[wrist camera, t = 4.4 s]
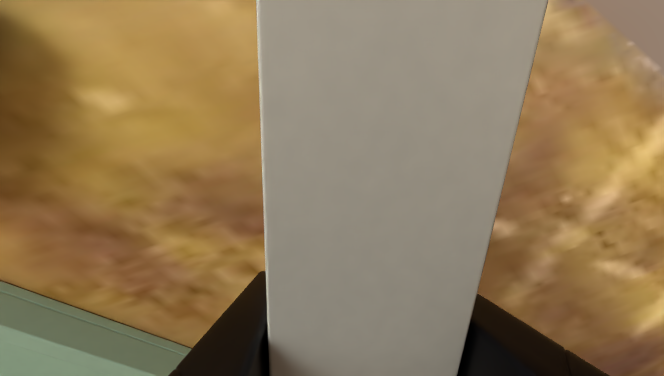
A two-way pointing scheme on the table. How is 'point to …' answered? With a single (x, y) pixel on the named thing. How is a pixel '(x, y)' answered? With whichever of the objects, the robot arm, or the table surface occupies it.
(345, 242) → the beige and teal block
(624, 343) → the table surface
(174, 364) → the pen tray
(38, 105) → the table surface
